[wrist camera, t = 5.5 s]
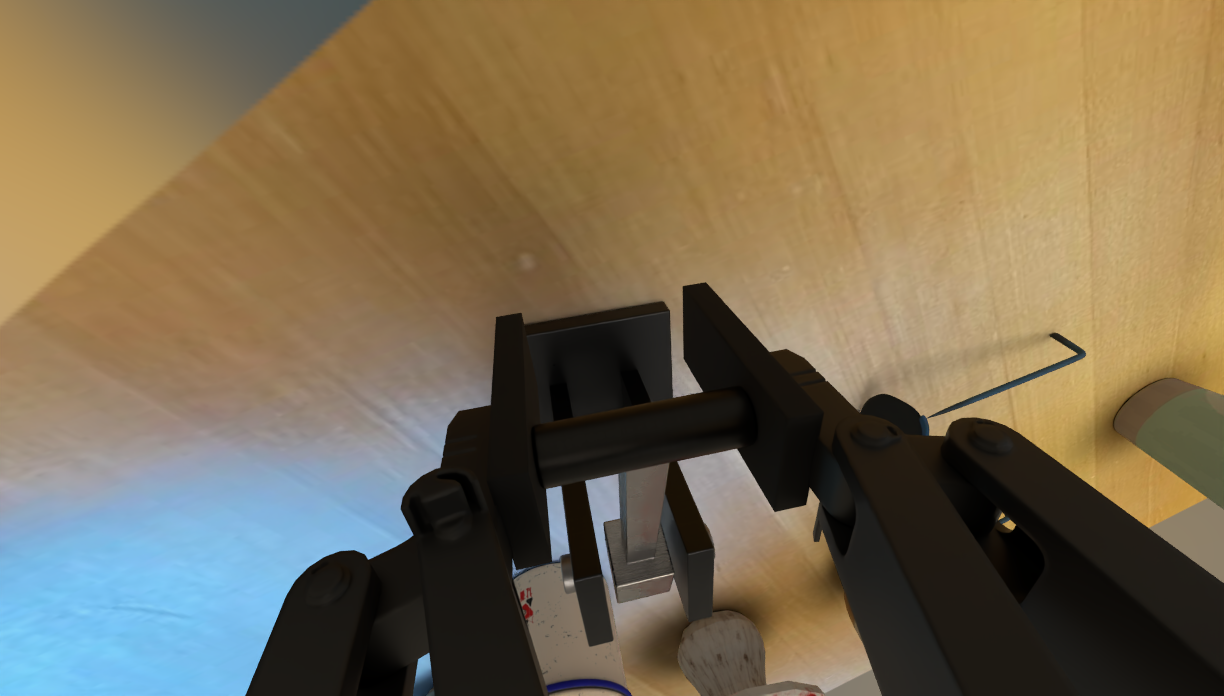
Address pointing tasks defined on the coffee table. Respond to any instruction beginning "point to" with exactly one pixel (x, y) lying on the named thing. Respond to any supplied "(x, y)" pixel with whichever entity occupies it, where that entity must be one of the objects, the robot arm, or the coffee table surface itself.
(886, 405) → the sunglasses
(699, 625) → the decorative mushroom
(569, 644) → the teacup with lid
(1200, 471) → the coffee cup
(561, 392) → the black lever stand
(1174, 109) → the coffee table surface
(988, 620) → the robot arm
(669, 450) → the lever
